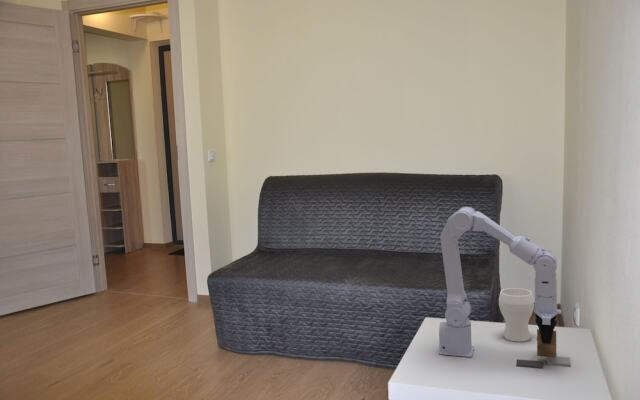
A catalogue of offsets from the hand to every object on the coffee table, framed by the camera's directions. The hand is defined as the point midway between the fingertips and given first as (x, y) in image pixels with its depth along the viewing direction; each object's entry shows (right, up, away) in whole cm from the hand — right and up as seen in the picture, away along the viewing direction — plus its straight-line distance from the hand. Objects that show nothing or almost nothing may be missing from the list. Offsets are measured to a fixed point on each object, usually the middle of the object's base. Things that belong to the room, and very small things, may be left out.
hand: (546, 341), depth 155 cm
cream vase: (-1, -4, +20) cm, 20 cm away
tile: (+1, -6, +1) cm, 6 cm away
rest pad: (-5, -6, -1) cm, 8 cm away
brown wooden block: (0, -4, 0) cm, 4 cm away
